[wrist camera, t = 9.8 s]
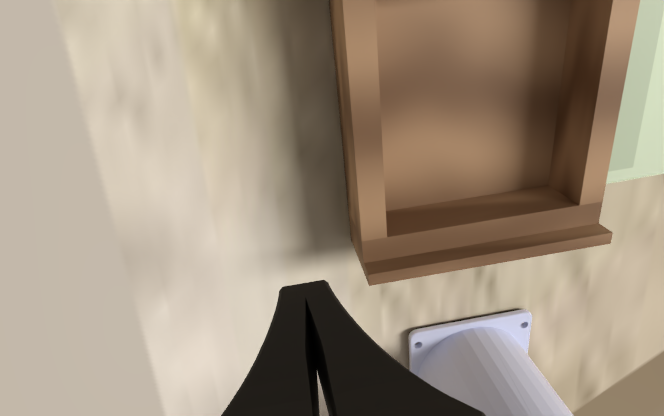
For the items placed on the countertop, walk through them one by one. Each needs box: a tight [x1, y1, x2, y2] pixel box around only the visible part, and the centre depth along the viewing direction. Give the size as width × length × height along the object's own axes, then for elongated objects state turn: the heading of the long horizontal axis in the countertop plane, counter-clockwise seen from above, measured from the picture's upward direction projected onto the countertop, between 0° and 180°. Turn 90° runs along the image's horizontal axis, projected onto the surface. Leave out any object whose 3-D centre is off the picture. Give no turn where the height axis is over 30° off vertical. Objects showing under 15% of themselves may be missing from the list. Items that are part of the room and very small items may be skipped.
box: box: [329, 0, 640, 286], centre depth 20 cm, size 14×12×4 cm
